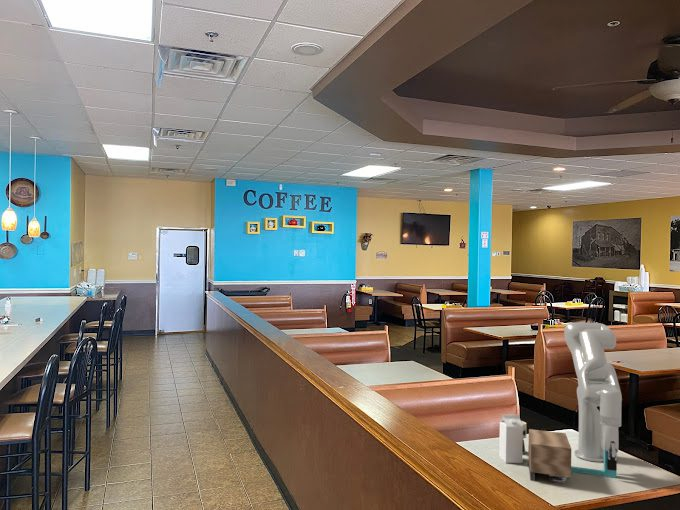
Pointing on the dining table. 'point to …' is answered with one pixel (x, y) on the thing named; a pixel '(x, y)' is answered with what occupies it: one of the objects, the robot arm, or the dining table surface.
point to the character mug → (524, 434)
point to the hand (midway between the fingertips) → (610, 466)
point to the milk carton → (511, 439)
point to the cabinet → (549, 453)
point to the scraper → (597, 472)
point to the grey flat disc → (557, 478)
